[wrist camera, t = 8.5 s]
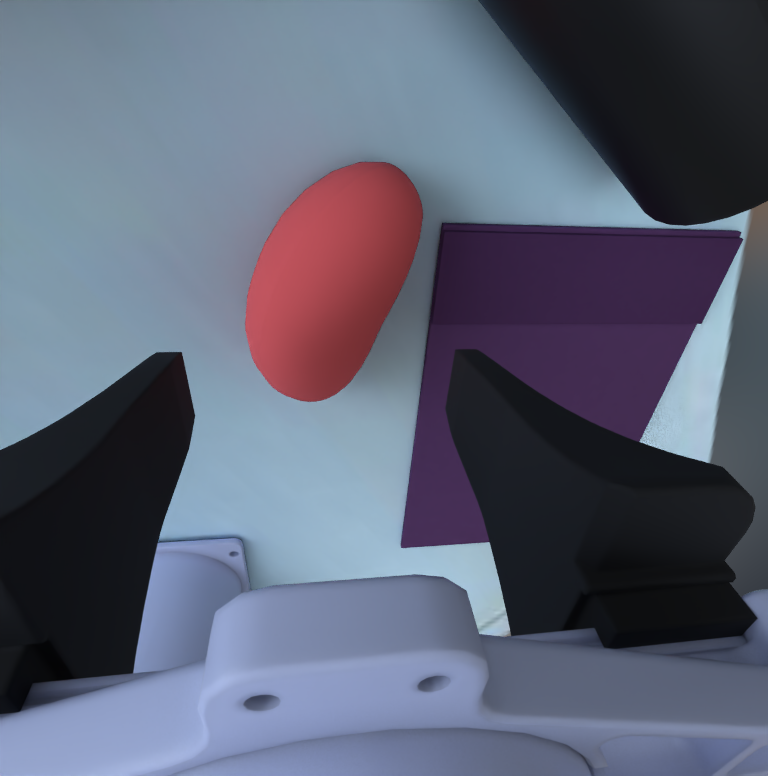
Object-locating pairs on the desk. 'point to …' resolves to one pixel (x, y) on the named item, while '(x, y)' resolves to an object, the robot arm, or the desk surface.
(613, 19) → the end cap
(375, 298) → the red oval piece
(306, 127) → the desk surface
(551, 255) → the cloth
